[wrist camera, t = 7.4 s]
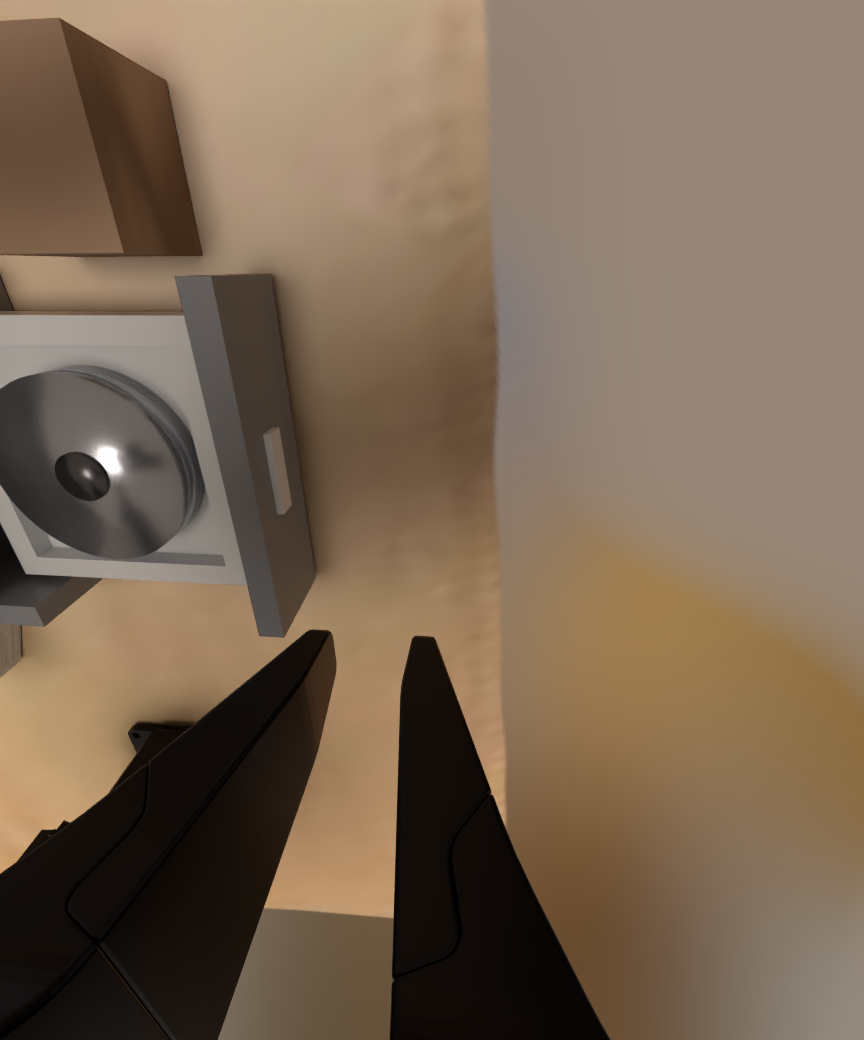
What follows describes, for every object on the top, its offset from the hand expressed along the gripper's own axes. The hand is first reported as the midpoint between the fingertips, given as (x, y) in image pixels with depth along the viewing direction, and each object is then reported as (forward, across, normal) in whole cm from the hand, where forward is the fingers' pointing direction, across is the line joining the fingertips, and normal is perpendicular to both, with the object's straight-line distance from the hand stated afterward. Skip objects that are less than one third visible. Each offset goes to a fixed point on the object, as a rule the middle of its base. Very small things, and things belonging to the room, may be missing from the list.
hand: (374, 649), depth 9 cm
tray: (+11, +11, 0) cm, 15 cm away
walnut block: (+11, +10, -9) cm, 17 cm away
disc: (+9, +12, 0) cm, 15 cm away
